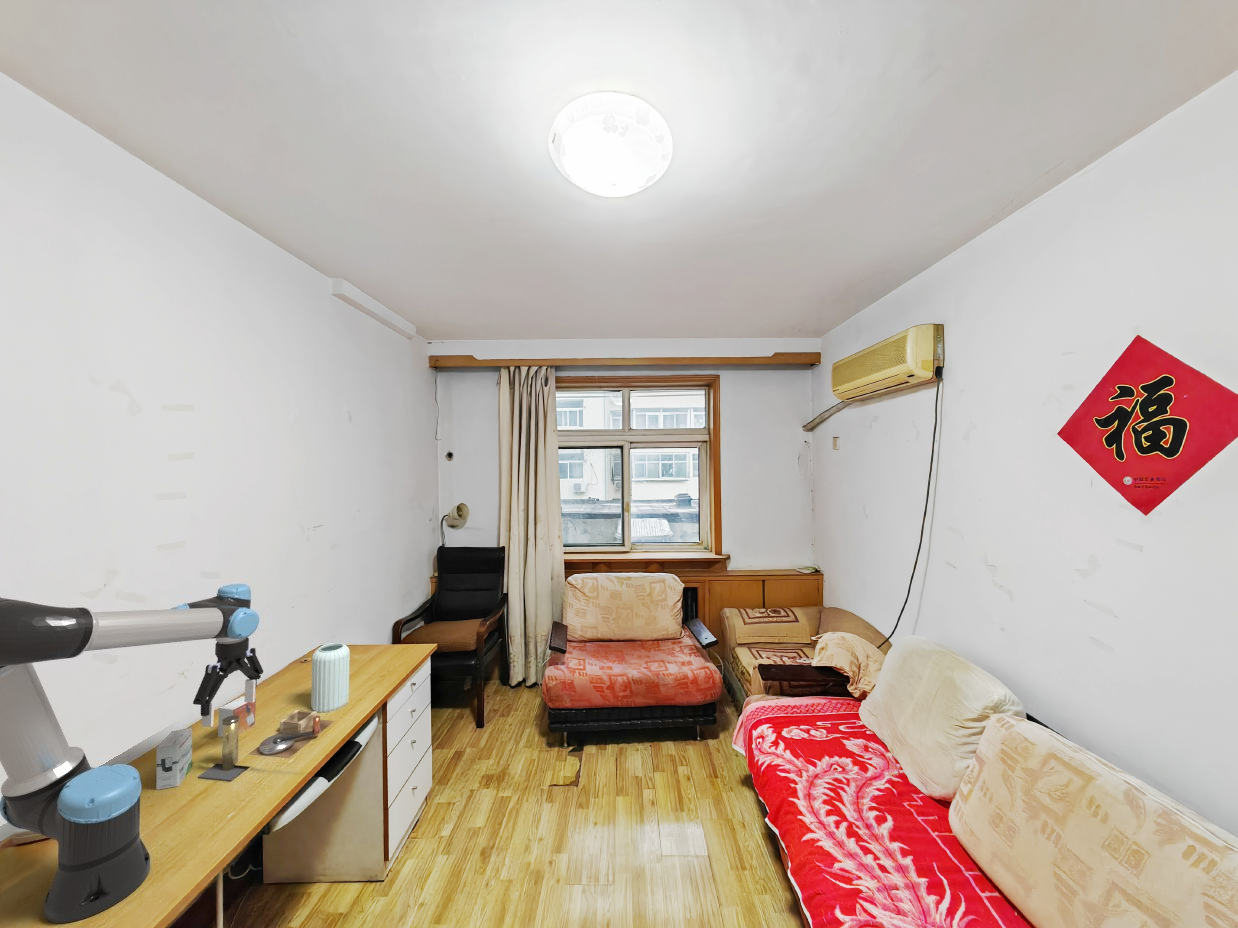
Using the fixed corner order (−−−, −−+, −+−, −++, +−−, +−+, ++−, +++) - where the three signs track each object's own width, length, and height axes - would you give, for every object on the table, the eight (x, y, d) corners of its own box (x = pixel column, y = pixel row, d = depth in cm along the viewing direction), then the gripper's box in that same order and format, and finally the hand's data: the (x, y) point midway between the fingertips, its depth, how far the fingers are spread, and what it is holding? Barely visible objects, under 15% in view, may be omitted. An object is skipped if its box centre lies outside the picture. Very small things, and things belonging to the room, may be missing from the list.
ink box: (171, 770, 138) (172, 729, 138) (192, 767, 140) (193, 726, 139) (154, 790, 130) (155, 747, 130) (177, 786, 132) (178, 743, 131)
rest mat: (230, 781, 134) (230, 779, 134) (197, 778, 135) (197, 776, 135) (260, 758, 144) (260, 757, 144) (229, 755, 145) (229, 754, 145)
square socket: (300, 734, 155) (300, 723, 155) (279, 732, 155) (279, 721, 155) (316, 721, 162) (316, 711, 162) (296, 719, 163) (296, 709, 162)
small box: (231, 743, 151) (232, 710, 151) (217, 740, 152) (217, 707, 152) (255, 729, 159) (256, 697, 159) (241, 726, 160) (242, 695, 160)
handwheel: (319, 743, 150) (319, 723, 150) (257, 757, 142) (257, 736, 142) (320, 728, 157) (320, 709, 157) (261, 741, 150) (261, 721, 150)
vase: (347, 697, 181) (348, 638, 181) (349, 711, 171) (351, 649, 171) (311, 705, 175) (312, 644, 174) (311, 720, 165) (312, 656, 165)
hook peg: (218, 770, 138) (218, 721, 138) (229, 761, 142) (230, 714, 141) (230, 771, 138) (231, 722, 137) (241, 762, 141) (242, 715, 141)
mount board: (289, 762, 143) (289, 757, 143) (248, 758, 144) (248, 753, 144) (334, 725, 163) (334, 720, 163) (298, 721, 164) (298, 717, 164)
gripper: (203, 657, 126) (200, 738, 126) (278, 625, 151) (276, 693, 151) (177, 655, 127) (174, 736, 127) (256, 624, 152) (253, 691, 152)
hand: (229, 713), depth 139 cm, fingers open, 13 cm apart
